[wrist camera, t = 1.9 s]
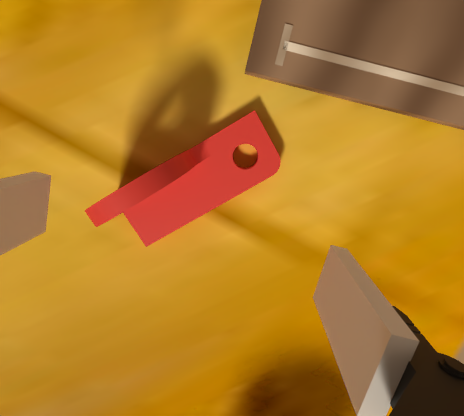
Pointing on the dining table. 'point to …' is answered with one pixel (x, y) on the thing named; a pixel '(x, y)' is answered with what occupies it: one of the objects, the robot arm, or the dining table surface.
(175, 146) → the dining table surface
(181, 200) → the bracket
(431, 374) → the robot arm
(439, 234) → the dining table surface
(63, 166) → the dining table surface
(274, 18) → the walnut board
